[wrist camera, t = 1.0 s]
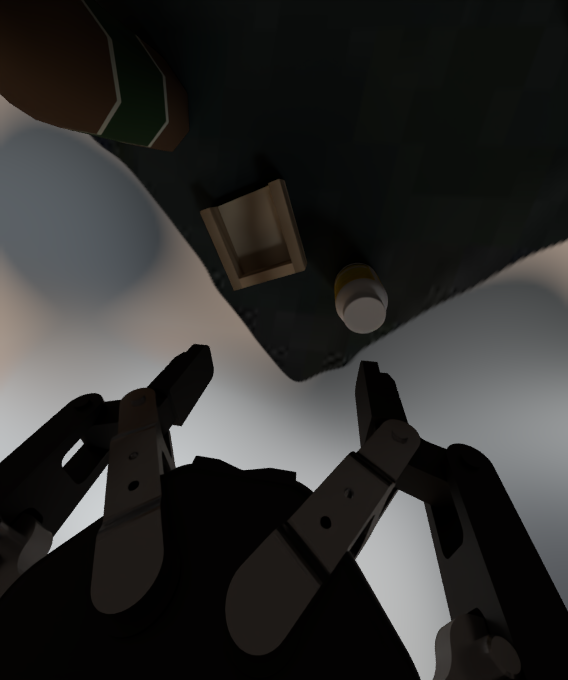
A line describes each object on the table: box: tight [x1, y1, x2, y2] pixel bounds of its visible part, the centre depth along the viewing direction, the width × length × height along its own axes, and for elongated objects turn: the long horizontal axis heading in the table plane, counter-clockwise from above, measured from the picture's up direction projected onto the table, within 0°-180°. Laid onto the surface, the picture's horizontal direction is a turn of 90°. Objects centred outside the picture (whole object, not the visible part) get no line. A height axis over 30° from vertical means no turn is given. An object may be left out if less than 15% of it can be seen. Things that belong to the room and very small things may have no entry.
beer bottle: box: [0, 0, 189, 152], centre depth 16 cm, size 8×8×24 cm
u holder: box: [200, 179, 307, 290], centre depth 29 cm, size 9×9×4 cm
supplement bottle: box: [334, 263, 388, 333], centre depth 28 cm, size 5×5×10 cm
